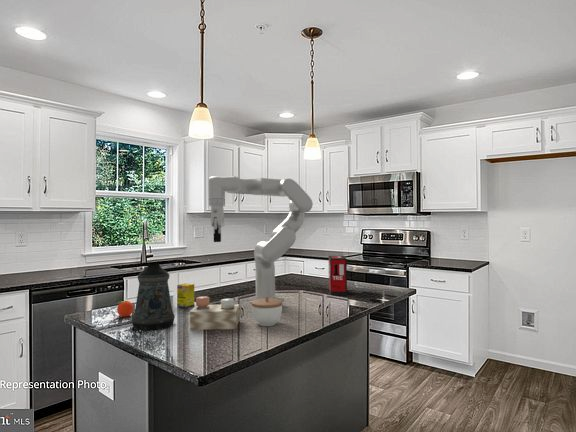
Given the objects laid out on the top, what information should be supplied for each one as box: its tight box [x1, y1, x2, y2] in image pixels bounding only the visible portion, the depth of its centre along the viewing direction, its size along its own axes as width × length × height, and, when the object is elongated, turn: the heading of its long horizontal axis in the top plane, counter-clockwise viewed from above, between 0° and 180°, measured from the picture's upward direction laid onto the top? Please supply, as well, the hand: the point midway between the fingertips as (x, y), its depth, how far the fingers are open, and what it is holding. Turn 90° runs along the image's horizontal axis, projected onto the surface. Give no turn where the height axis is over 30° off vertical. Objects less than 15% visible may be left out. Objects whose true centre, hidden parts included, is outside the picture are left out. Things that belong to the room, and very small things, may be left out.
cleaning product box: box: [328, 255, 348, 296], centre depth 228 cm, size 16×9×20 cm, turn 178°
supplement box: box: [176, 282, 195, 309], centre depth 195 cm, size 6×6×11 cm
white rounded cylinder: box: [220, 298, 235, 309], centre depth 162 cm, size 5×5×9 cm
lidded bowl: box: [251, 297, 283, 327], centre depth 163 cm, size 13×13×11 cm
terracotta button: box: [195, 295, 210, 310], centre depth 162 cm, size 5×5×9 cm
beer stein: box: [131, 262, 175, 332], centre depth 163 cm, size 16×19×25 cm
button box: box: [189, 303, 240, 331], centre depth 162 cm, size 18×12×7 cm, turn 91°
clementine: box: [116, 300, 135, 318], centre depth 177 cm, size 8×7×7 cm
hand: (217, 241), depth 188 cm, fingers closed
